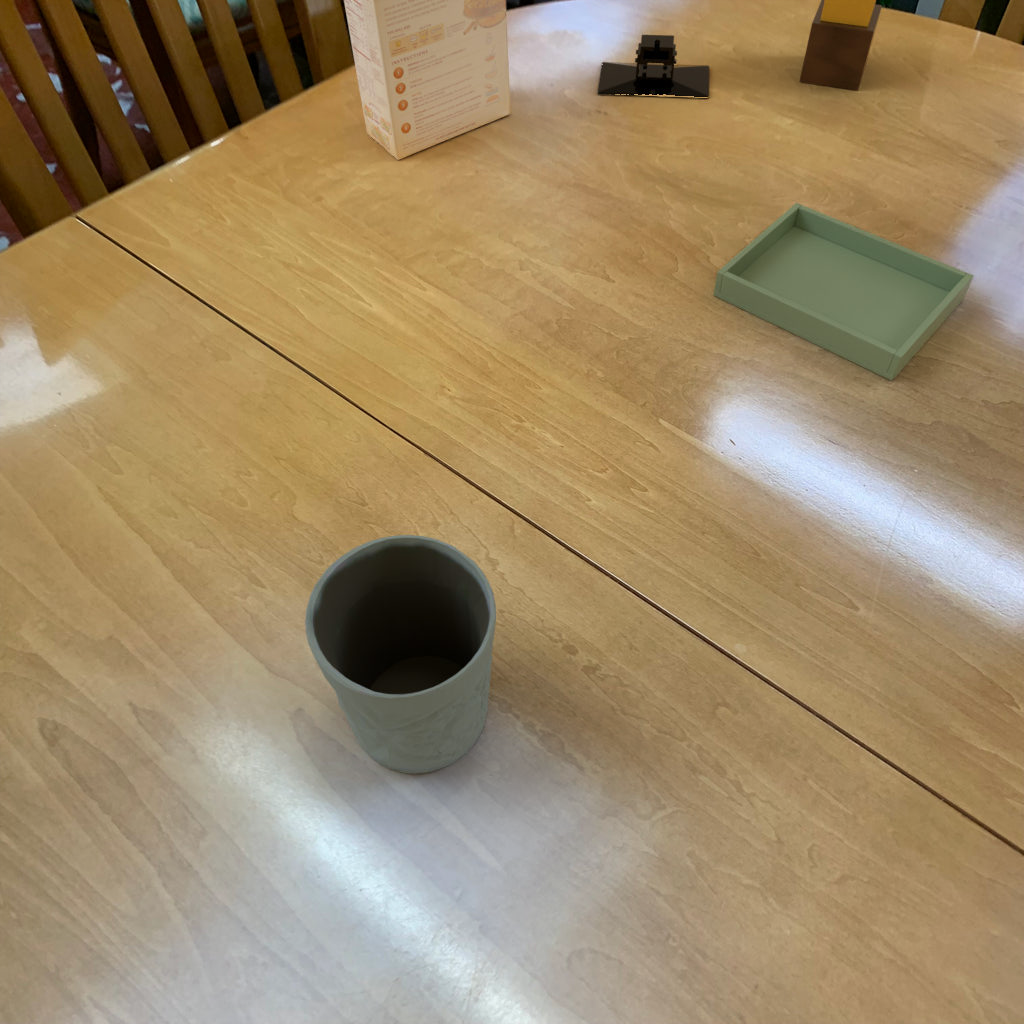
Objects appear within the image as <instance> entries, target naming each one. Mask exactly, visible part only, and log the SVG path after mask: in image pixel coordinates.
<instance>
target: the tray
mask: <svg viewBox="0 0 1024 1024" xmlns="http://www.w3.org/2000/svg"><path fill="white" fill-rule="evenodd" d="M716 273H717V274H716V276H715V277H716V278H715V284H714V290H713V296H714V297H716V298H718V299H720V300H721V301H725V302H726V303H729V304H731V305H733V306H734V307H737V308H739V309H741V310H743V311H745V312H747V313H749V314H751V315H753V316H756V317H758V318H760V319H762V320H764V321H766V322H768V323H769V324H772V325H774V326H776V327H778V328H781V329H783V330H784V331H787V332H789V333H791V334H793V335H795V336H797V337H799V338H802V339H803V340H805V341H807V342H809V343H812V344H814V345H816V346H819V347H821V348H823V349H825V350H827V351H828V352H831V353H833V354H835V355H837V356H839V357H841V358H843V359H845V360H848V361H849V362H851V363H853V364H856V365H857V366H860V367H862V368H864V369H866V370H868V371H870V372H872V373H874V374H876V375H879V376H881V377H883V378H885V379H886V380H889V381H893V380H895V378H896V377H897V376H898V375H899V373H900V372H901V371H903V369H904V368H905V367H906V366H907V364H908V363H909V362H910V361H911V360H912V358H914V356H915V355H917V353H918V352H919V351H920V350H921V348H922V347H923V346H924V345H925V344H926V343H927V341H928V340H929V339H930V338H931V337H932V336H933V335H934V333H935V332H936V331H937V330H938V329H939V328H940V327H941V325H942V324H944V322H945V321H946V320H947V319H948V317H950V315H951V314H952V313H953V312H954V311H955V310H956V308H957V307H958V306H959V305H960V304H961V303H962V301H963V300H964V299H965V297H966V294H967V292H968V290H969V288H970V285H971V283H972V281H973V279H974V276H975V275H974V274H973V273H972V274H971V273H969V272H967V271H965V270H961V269H959V268H957V267H954V266H953V265H949V264H947V263H945V262H942V261H940V260H937V259H935V258H932V257H930V256H927V255H925V254H923V253H920V252H917V251H915V250H913V249H910V248H908V247H906V246H903V245H901V244H898V243H896V242H894V241H891V240H888V239H886V238H884V237H882V236H879V235H876V234H874V233H871V232H869V231H866V230H864V229H862V228H859V227H858V226H857V227H856V225H855V226H854V225H852V224H849V223H847V222H844V221H842V220H839V219H838V218H835V217H833V216H831V215H828V214H825V213H822V212H820V211H817V210H815V209H813V208H812V207H811V208H810V207H809V206H806V205H803V204H801V203H798V202H795V203H794V204H793V205H792V206H791V207H789V209H787V210H786V211H785V212H784V213H783V214H782V215H781V216H779V218H777V219H776V220H775V221H773V223H771V224H770V225H769V226H768V227H767V228H765V229H764V230H763V231H762V232H761V233H760V234H759V235H757V236H756V237H755V238H754V239H753V240H751V242H750V243H749V244H748V245H746V246H745V247H744V248H742V250H741V251H740V252H738V253H737V254H736V255H734V257H733V258H731V259H730V260H729V261H728V262H726V263H725V265H723V266H722V267H721V268H720V269H719V270H718V271H717V272H716Z"/></svg>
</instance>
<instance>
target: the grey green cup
mask: <svg viewBox="0 0 1024 1024" xmlns="http://www.w3.org/2000/svg"><path fill="white" fill-rule="evenodd" d="M496 622H497V605H496V600H495V594H494V591H493V589H492V586H491V584H490V581H489V580H488V578H487V576H486V575H485V572H484V571H483V570H482V568H480V567H479V565H478V564H477V563H476V561H474V560H473V559H472V558H470V556H468V555H466V554H465V553H464V552H462V551H461V550H459V549H458V547H456V546H454V545H452V544H449V543H447V542H444V541H442V540H439V539H438V538H433V537H429V536H425V535H424V536H423V535H414V534H400V535H399V534H398V535H391V536H385V537H380V538H376V539H372V540H370V541H367V542H365V543H363V544H360V545H358V546H355V547H354V548H352V549H350V550H349V551H347V552H346V553H344V554H343V555H341V556H340V557H339V558H338V559H336V560H335V561H334V562H333V563H331V565H329V566H328V567H327V568H326V569H325V570H324V572H323V573H322V575H321V576H320V577H319V579H318V580H317V582H316V583H315V584H314V586H313V589H312V590H311V593H310V595H309V598H308V601H307V605H306V609H305V620H304V626H305V627H304V628H305V635H306V640H307V644H308V646H309V649H310V651H311V653H312V655H313V657H314V659H315V662H316V663H317V665H318V668H319V669H320V671H321V673H322V674H323V677H324V678H325V680H326V681H327V682H328V683H329V685H330V686H331V688H332V689H333V690H334V692H335V695H336V699H337V703H338V706H339V708H340V709H341V710H342V711H343V712H344V715H345V717H346V720H347V723H348V725H349V727H350V729H351V731H352V733H353V735H354V737H355V739H356V740H357V742H358V744H359V745H360V747H361V748H362V750H363V751H364V752H365V753H366V755H368V756H369V757H370V758H371V759H372V760H373V761H375V762H377V763H378V764H380V765H381V766H383V767H385V768H387V769H389V770H393V771H396V772H398V773H399V772H400V773H403V774H426V773H432V772H436V771H439V770H442V769H444V768H446V767H448V766H451V765H452V764H453V763H455V762H457V761H458V760H460V759H461V758H463V756H465V755H466V754H467V753H468V752H469V751H470V750H471V749H472V748H473V746H474V745H475V744H476V742H477V740H478V739H479V738H480V736H481V734H482V732H483V730H484V728H485V724H486V721H487V718H488V710H489V696H490V687H491V686H490V682H491V676H492V663H493V655H492V652H493V649H494V645H493V644H494V640H495V632H496V631H495V630H496Z"/></svg>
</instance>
